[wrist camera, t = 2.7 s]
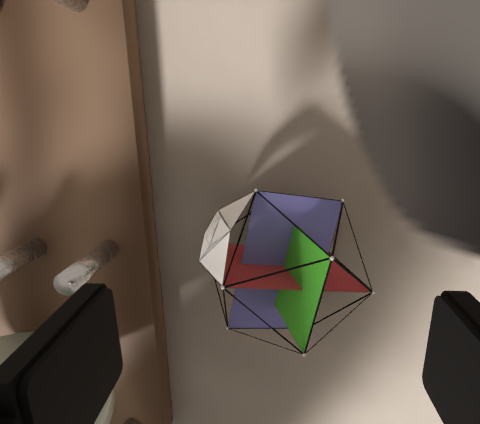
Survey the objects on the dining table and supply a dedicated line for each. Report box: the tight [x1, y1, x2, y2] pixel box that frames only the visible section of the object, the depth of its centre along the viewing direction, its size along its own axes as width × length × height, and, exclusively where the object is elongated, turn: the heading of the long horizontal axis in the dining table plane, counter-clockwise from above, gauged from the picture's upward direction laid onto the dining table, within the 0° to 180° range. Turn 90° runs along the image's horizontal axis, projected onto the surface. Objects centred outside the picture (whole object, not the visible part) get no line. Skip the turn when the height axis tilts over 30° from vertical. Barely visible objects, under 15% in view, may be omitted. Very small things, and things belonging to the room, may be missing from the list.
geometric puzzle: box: [199, 189, 375, 357], centre depth 16 cm, size 7×7×8 cm
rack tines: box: [0, 0, 140, 424], centre depth 17 cm, size 9×24×4 cm, turn 1°
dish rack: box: [0, 0, 173, 424], centre depth 19 cm, size 12×25×2 cm, turn 1°
